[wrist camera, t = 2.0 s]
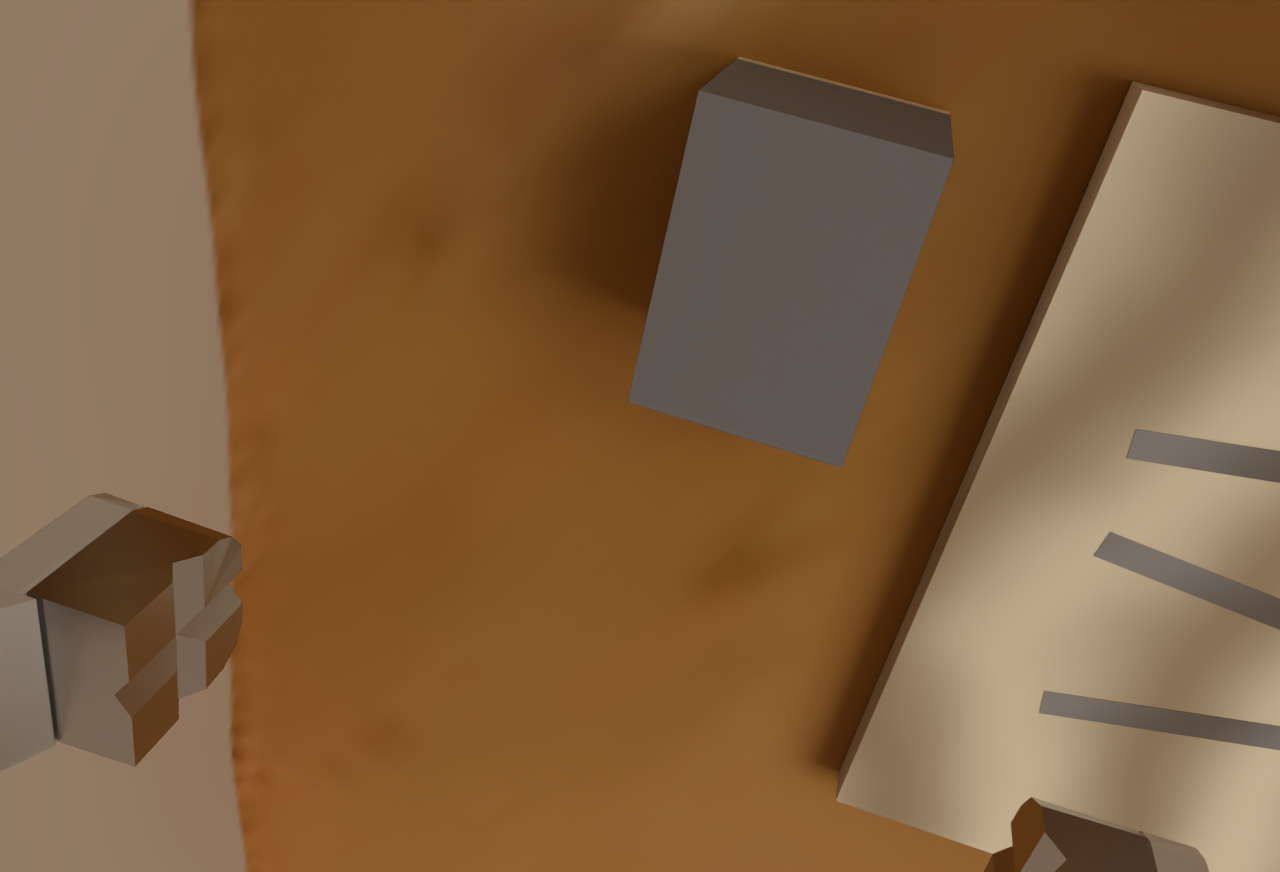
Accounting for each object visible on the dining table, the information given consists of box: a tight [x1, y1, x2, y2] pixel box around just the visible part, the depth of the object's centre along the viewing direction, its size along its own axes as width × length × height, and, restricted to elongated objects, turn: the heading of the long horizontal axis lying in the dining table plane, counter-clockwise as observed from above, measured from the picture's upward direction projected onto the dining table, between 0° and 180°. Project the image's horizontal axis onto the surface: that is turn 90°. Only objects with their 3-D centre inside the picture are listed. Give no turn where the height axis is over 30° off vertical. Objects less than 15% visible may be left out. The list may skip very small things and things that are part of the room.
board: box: [836, 81, 1280, 872], centre depth 26 cm, size 16×22×1 cm
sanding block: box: [628, 56, 954, 468], centre depth 23 cm, size 5×7×5 cm
